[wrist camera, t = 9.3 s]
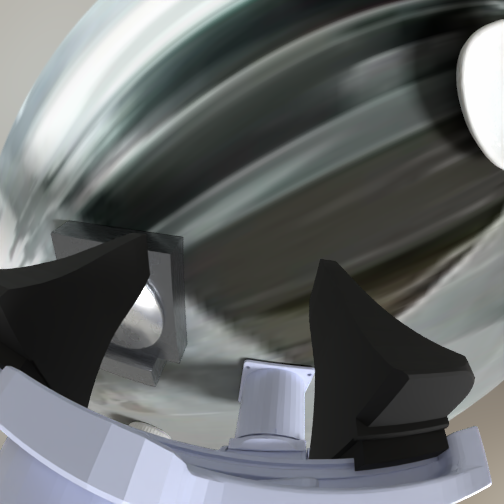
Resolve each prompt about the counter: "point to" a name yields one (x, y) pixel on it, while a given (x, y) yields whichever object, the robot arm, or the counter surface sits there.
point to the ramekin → (149, 429)
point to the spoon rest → (484, 89)
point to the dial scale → (140, 303)
